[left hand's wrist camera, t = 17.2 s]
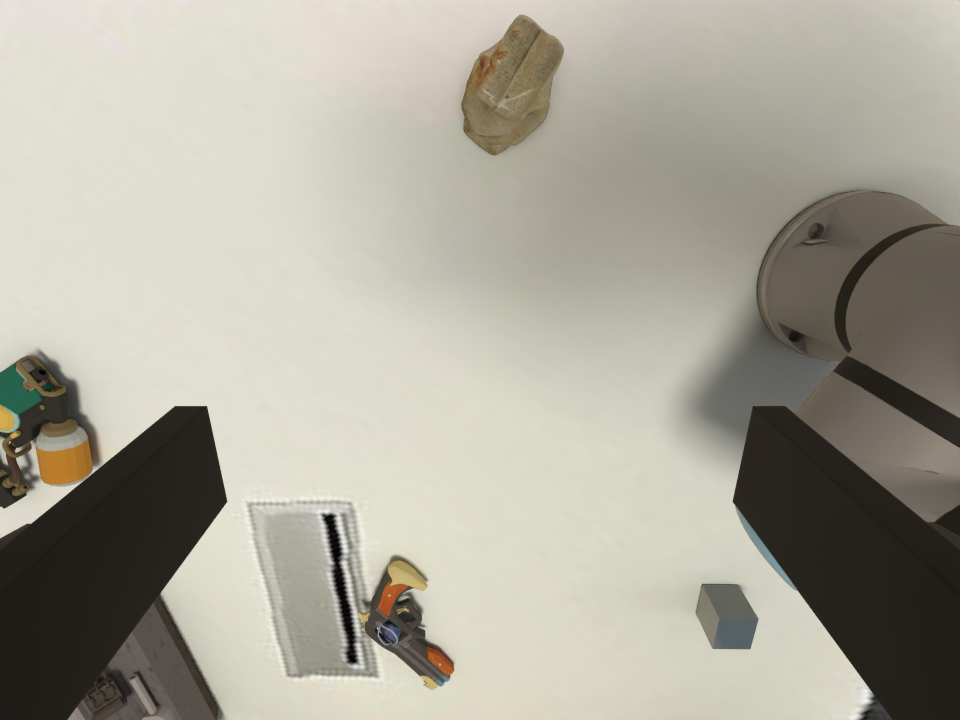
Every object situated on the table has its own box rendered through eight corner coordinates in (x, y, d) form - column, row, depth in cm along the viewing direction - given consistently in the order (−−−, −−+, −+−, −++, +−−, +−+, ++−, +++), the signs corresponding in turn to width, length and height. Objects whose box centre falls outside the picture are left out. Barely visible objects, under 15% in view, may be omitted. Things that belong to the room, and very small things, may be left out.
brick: (701, 584, 62) (719, 618, 57) (738, 584, 62) (758, 618, 57) (695, 613, 63) (712, 648, 59) (731, 613, 63) (750, 649, 59)
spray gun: (-1, 498, 59) (-77, 378, 54) (128, 474, 56) (60, 346, 51) (-39, 522, 55) (-125, 394, 50) (98, 498, 52) (21, 360, 47)
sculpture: (558, 93, 43) (594, 61, 29) (503, 166, 45) (512, 170, 31) (502, 43, 42) (513, -16, 28) (449, 121, 44) (433, 103, 30)
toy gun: (399, 567, 58) (329, 614, 59) (495, 657, 65) (431, 699, 66) (399, 550, 60) (332, 596, 61) (492, 639, 67) (430, 679, 68)
